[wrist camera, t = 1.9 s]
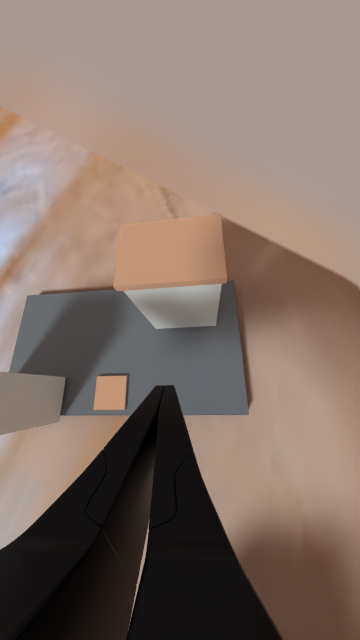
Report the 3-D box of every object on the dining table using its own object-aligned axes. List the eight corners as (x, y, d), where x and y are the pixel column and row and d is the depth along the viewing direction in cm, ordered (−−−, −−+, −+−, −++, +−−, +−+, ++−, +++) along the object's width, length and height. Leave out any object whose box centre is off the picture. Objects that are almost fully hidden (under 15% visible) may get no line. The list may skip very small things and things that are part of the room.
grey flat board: (246, 413, 19) (249, 415, 17) (9, 414, 21) (-5, 416, 20) (232, 285, 23) (234, 279, 22) (35, 299, 26) (25, 294, 24)
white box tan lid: (218, 327, 20) (227, 278, 11) (153, 330, 21) (112, 286, 12) (214, 287, 21) (220, 213, 12) (154, 291, 22) (118, 224, 13)
